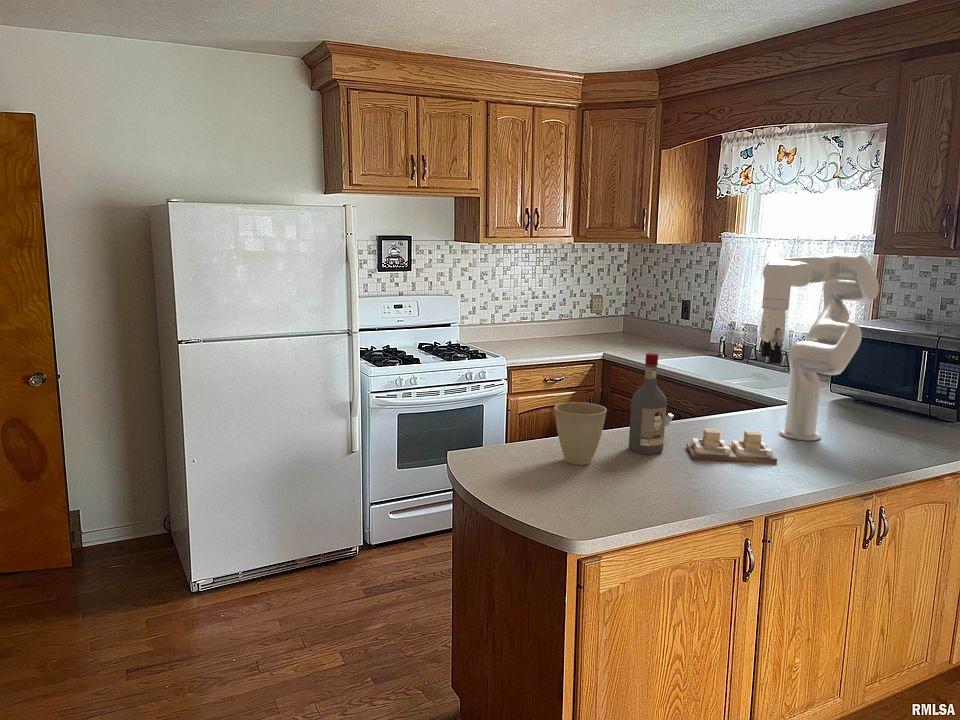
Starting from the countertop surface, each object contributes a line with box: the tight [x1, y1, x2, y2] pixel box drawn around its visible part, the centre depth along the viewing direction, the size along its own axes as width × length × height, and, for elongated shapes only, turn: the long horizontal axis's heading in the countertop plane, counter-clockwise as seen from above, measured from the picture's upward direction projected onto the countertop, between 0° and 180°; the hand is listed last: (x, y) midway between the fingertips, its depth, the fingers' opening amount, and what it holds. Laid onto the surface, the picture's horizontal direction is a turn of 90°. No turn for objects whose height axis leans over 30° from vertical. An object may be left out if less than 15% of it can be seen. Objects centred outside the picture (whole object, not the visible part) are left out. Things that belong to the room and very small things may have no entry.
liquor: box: [628, 352, 668, 456], centre depth 229 cm, size 9×9×30 cm
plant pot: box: [554, 401, 608, 466], centre depth 218 cm, size 15×15×16 cm
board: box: [686, 430, 778, 465], centre depth 227 cm, size 12×24×8 cm, turn 84°
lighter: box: [664, 412, 674, 436], centre depth 247 cm, size 7×2×8 cm, turn 42°
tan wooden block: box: [702, 428, 721, 447], centre depth 228 cm, size 4×4×6 cm
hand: (770, 359), depth 231 cm, fingers open, 9 cm apart
